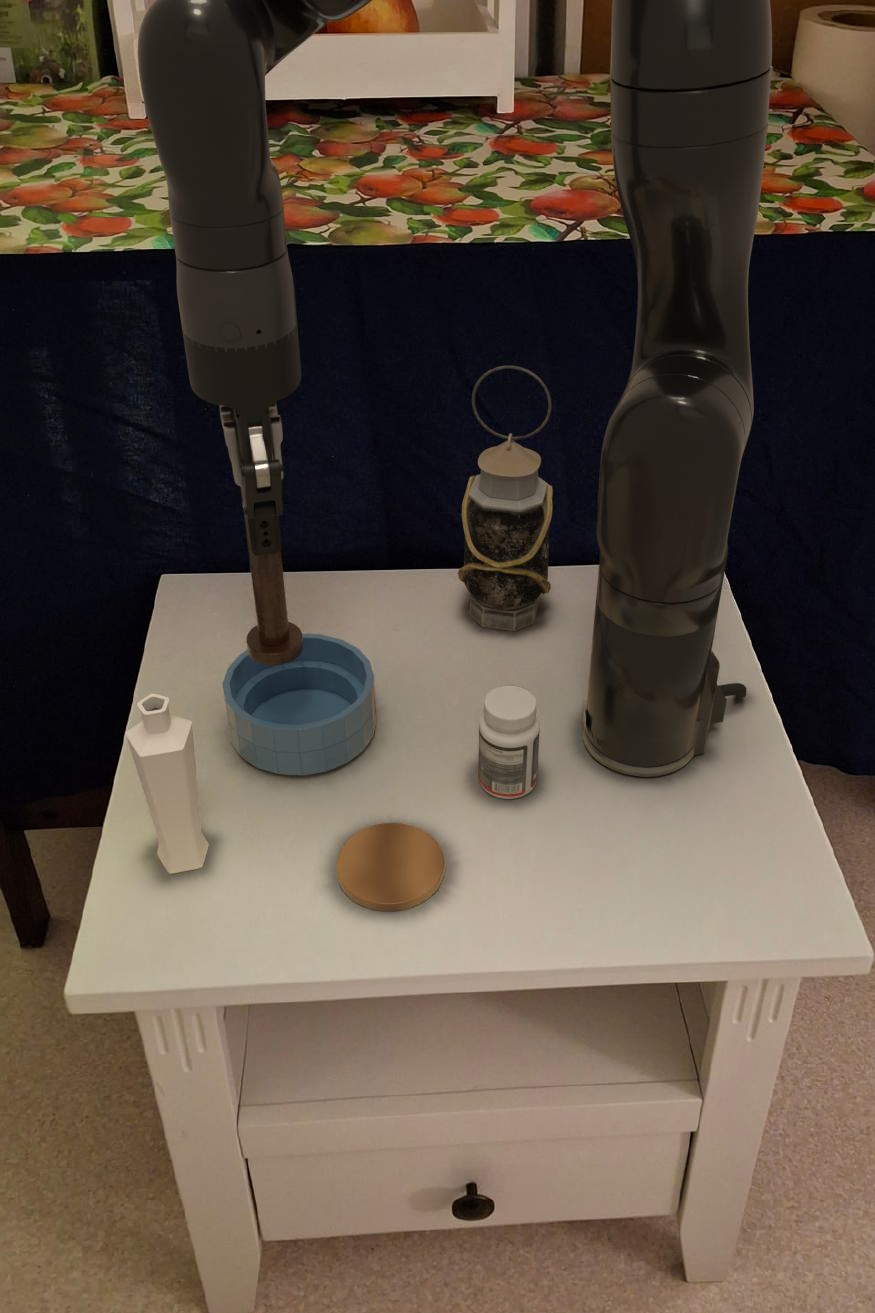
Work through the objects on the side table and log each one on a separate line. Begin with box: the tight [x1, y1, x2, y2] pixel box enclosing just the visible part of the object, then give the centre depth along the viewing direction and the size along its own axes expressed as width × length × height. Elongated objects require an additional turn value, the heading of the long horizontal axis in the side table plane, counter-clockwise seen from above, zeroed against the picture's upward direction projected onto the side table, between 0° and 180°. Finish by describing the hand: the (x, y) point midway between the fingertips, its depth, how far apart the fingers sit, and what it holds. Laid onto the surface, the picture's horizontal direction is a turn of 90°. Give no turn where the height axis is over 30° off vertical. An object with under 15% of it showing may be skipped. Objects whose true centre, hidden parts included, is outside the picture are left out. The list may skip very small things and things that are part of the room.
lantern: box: [457, 365, 554, 632], centre depth 108 cm, size 9×8×25 cm
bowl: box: [222, 632, 377, 776], centre depth 101 cm, size 12×12×6 cm
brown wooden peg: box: [239, 486, 303, 666], centre depth 92 cm, size 4×4×15 cm
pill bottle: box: [477, 685, 541, 800], centre depth 95 cm, size 5×5×8 cm
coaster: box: [335, 822, 446, 912], centre depth 90 cm, size 8×8×1 cm
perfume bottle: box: [124, 693, 210, 874], centre depth 87 cm, size 5×4×15 cm
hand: (264, 539), depth 91 cm, fingers closed on brown wooden peg, 2 cm apart
